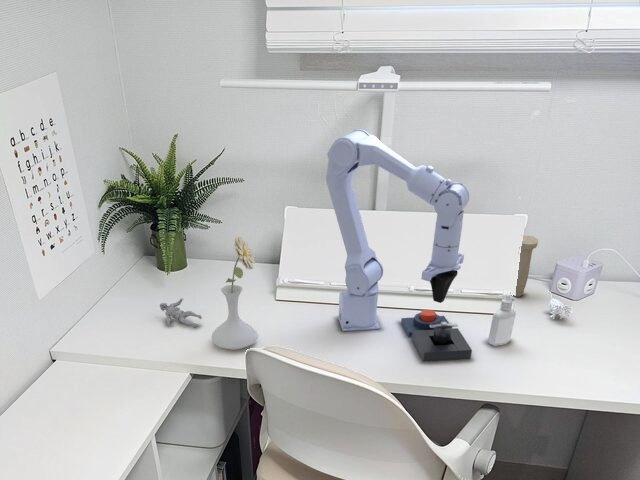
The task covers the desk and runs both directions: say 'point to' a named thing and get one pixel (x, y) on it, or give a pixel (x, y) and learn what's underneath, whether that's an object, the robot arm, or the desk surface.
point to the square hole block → (441, 346)
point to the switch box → (420, 323)
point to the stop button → (427, 315)
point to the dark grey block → (442, 333)
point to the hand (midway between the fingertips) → (438, 301)
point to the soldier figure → (178, 313)
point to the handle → (525, 262)
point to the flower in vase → (236, 307)
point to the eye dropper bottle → (502, 323)
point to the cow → (558, 308)
